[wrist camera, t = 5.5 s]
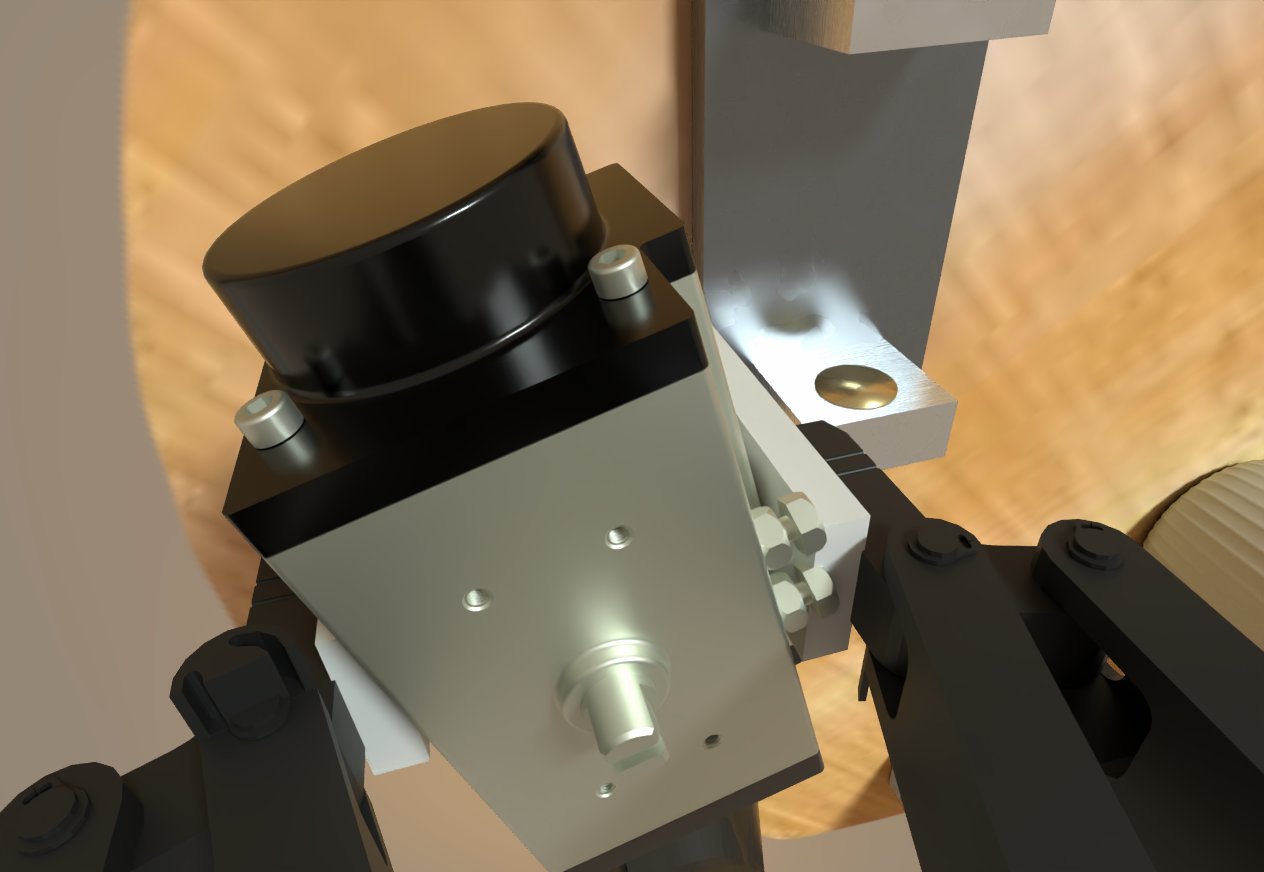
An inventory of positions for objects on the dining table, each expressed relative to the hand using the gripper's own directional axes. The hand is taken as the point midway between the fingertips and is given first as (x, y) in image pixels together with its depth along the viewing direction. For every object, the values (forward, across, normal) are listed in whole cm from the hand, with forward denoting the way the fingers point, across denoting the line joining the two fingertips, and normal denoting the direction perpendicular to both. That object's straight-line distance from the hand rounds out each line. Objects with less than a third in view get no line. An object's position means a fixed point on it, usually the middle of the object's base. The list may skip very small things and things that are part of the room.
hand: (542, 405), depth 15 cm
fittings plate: (+17, -15, +2) cm, 23 cm away
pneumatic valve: (+4, 0, 0) cm, 4 cm away
